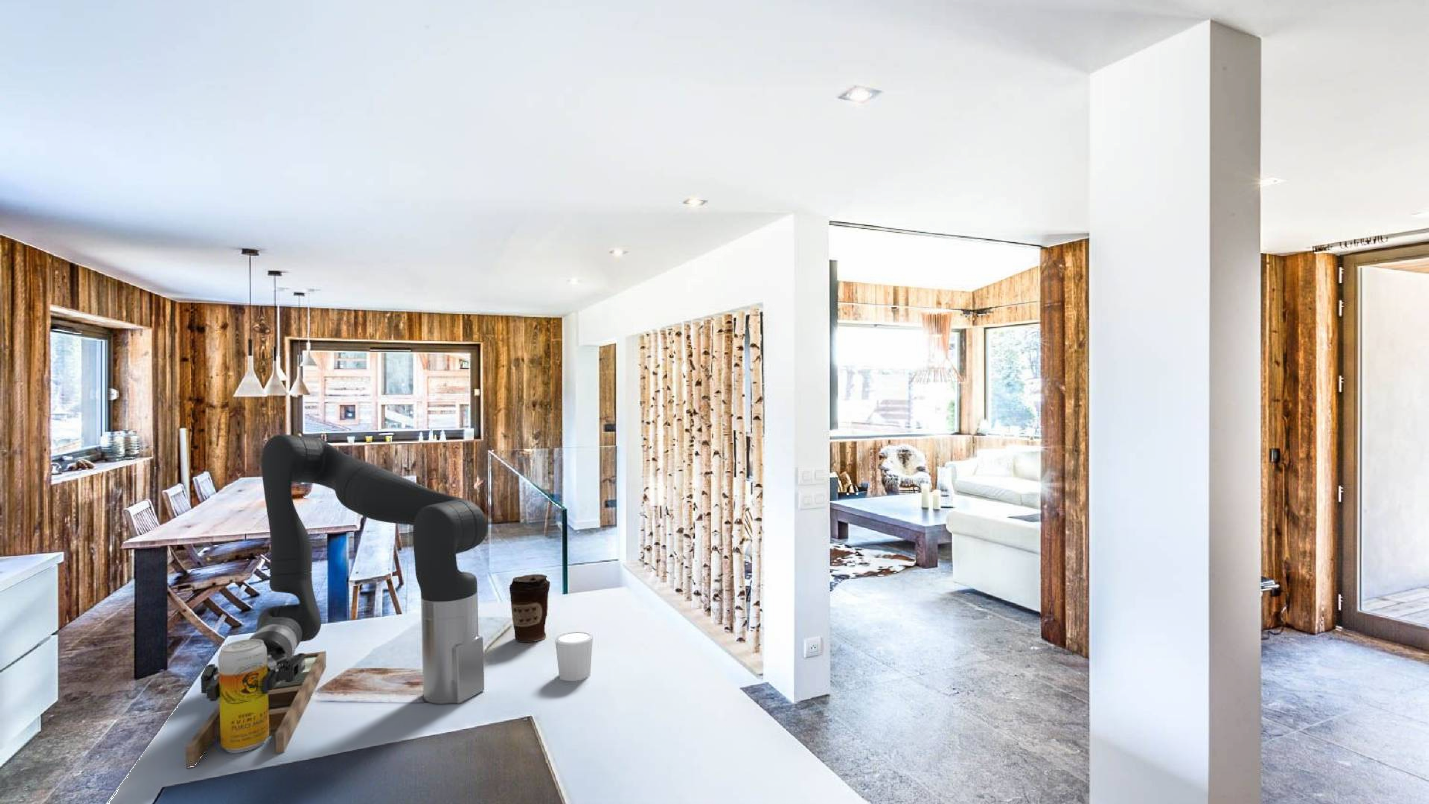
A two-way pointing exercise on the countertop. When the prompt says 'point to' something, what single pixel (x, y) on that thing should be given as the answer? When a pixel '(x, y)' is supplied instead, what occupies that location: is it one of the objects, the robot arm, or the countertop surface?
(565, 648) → the white cup
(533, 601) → the coffee cup
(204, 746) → the brown wooden flat frame
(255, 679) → the beer can
